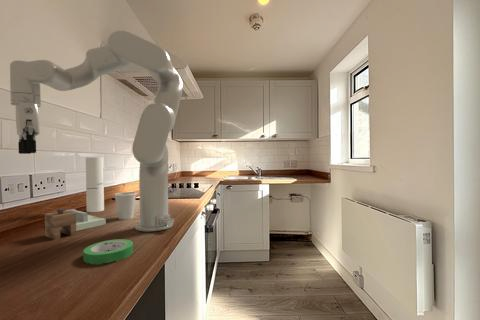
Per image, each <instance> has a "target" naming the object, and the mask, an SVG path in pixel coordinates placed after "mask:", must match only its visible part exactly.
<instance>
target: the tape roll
mask: <svg viewBox="0 0 480 320" xmlns="http://www.w3.org/2000/svg"><path fill="white" fill-rule="evenodd" d="M133 242H134V241H132V240H130V239H124V238H123V239H122V238H121V239H109V240H108V239H107V240H104V241H103V240H102V241H100V242H95V243H93V244H90V245H87V247H85V248H84V249H83V252H82V253H83V254H82V255H83V257H82V258H83V262H84V263H85V262H86V263H85V264H88V263H90V264H89V265H103V264H102V263H108V264H110V263H109V262H113V261H117V260H120V261H122V260H121V259H123V258H125V259H127V258H126V257H128V256H129V257H131V256H132V255H133V254H134V243H133ZM108 250H109V251H108ZM132 253H133V254H132ZM131 254H132V255H131ZM130 255H131V256H130ZM129 257H128V258H129ZM123 260H124V259H123ZM117 262H118V261H117ZM113 263H114V262H113Z"/></svg>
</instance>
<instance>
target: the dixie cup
mask: <svg viewBox="0 0 480 320" xmlns="http://www.w3.org/2000/svg"><path fill="white" fill-rule="evenodd" d="M113 196H114V201H115V205H116V211H117V218H118V220H130V219H133V218H134V216H135V215H134V214H135V206H136V205H135V204H136V196H137V192H136V191H135V192H133V191H127V192H126V191H125V192H116V193H114V194H113Z"/></svg>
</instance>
